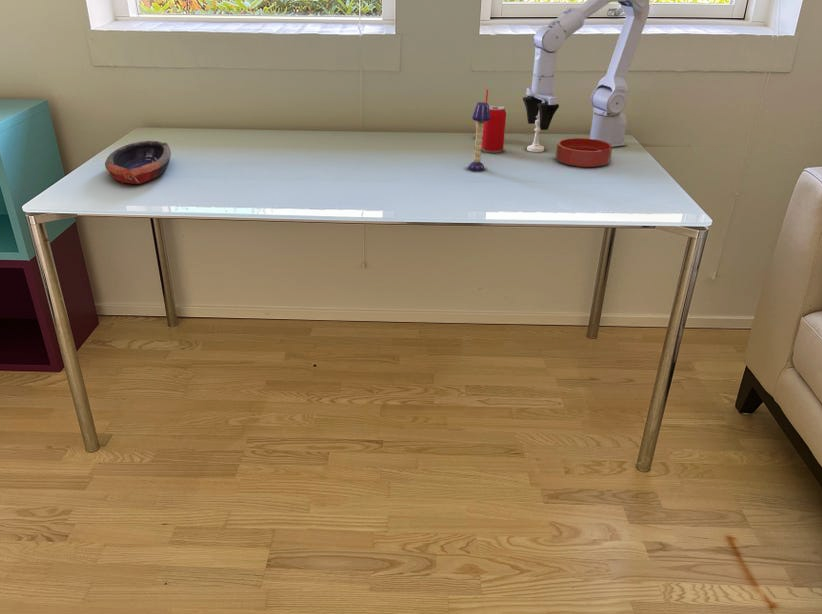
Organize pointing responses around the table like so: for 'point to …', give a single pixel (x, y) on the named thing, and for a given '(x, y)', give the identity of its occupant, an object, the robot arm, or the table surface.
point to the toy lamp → (479, 133)
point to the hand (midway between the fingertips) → (537, 126)
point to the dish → (138, 161)
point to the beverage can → (494, 130)
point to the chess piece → (536, 138)
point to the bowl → (583, 152)
